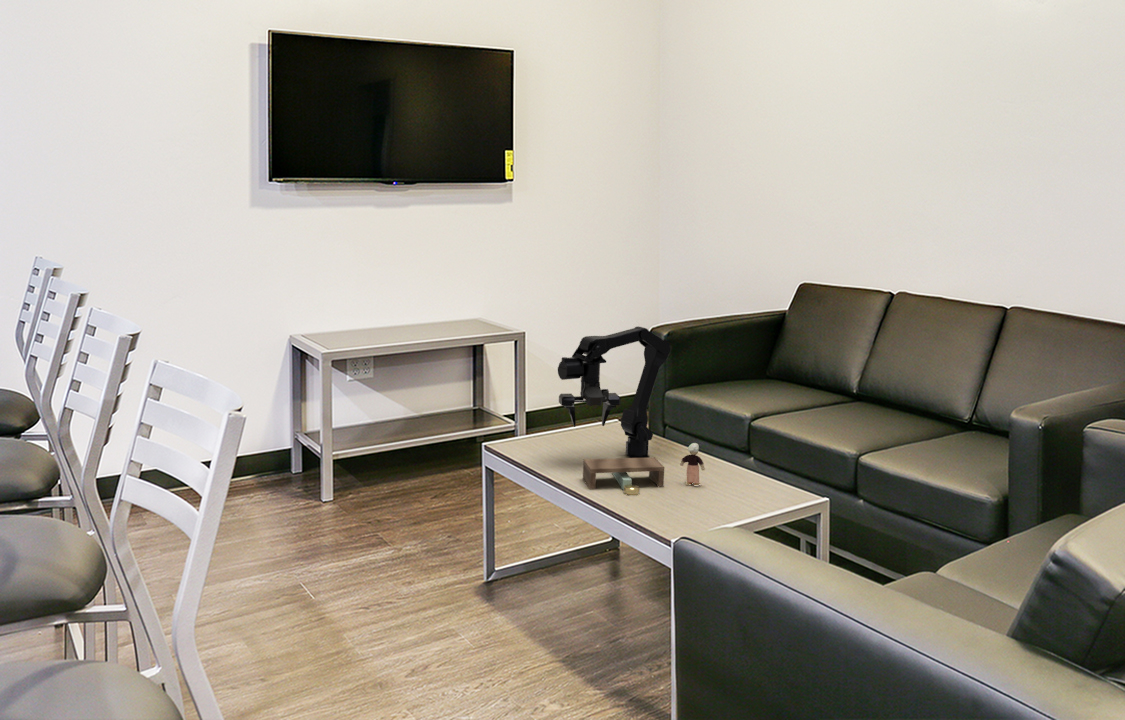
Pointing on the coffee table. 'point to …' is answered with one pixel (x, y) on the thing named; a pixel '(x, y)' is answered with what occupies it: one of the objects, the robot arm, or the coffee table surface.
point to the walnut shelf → (622, 468)
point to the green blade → (622, 479)
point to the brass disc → (631, 489)
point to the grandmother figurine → (693, 464)
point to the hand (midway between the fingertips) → (588, 426)
